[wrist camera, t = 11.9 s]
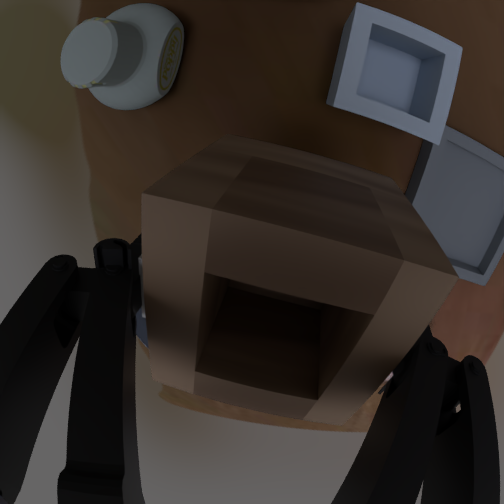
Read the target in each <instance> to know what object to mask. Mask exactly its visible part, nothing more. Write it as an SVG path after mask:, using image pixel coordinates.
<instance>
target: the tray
mask: <svg viewBox="0 0 504 504" xmlns="http://www.w3.org/2000/svg"><path fill="white" fill-rule="evenodd" d="M405 196H406V197H407V199H408V200H409V202H410V203H411V204H412V206H413V207H414V208H415V210H416V211H417V213H418V214H419V215H420V217H421V218H422V220H423V221H424V222H425V224H426V225H427V227H428V228H429V230H430V231H431V233H432V234H433V236H434V237H435V239H436V240H437V242H438V243H439V245H440V246H441V248H442V250H443V251H444V253H445V254H446V256H447V258H448V259H449V261H450V263H451V264H452V266H453V268H454V269H455V271H456V273H457V274H458V276H459V278H461V279H464V280H467V281H470V282H474V283H477V284H480V285H483V286H485V285H486V283H487V281H488V280H489V278H490V276H491V275H492V273H493V271H494V269H495V267H496V266H497V264H498V262H499V260H500V258H501V256H502V254H503V252H504V158H503V157H502V156H500V155H499V154H497V153H495V152H494V151H492V150H490V149H489V148H487V147H485V146H484V145H482V144H480V143H478V142H477V141H475V140H473V139H471V138H469V137H468V136H466V135H464V134H462V133H460V132H458V131H456V130H454V129H452V128H450V127H448V126H446V125H445V128H444V131H443V134H442V138H441V141H440V144H439V145H436V144H434V143H432V142H430V141H427V140H425V139H424V140H423V143H422V147H421V150H420V153H419V156H418V159H417V162H416V165H415V168H414V171H413V174H412V177H411V180H410V182H409V185H408V188H407V191H406V193H405Z"/></svg>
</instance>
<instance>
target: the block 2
mask: <svg viewBox="0 0 504 504" xmlns="http://www.w3.org/2000/svg"><path fill="white" fill-rule="evenodd" d="M461 54H462V47H461V46H459V45H457V44H455V43H453V42H451V41H450V40H448V39H446V38H444V37H442V36H440V35H438V34H436V33H434V32H432V31H430V30H428V29H426V28H423V27H421V26H419V25H417V24H415V23H412V22H410V21H408V20H405V19H403V18H400V17H398V16H395V15H393V14H390V13H387V12H385V11H382V10H379V9H376V8H373V7H370V6H367V5H364V4H361V3H358V2H357V3H356V5H355V7H354V8H353V10H352V12H351V14H350V16H349V18H348V19H347V21H346V23H345V25H344V27H343V32H342V36H341V41H340V45H339V50H338V54H337V59H336V63H335V67H334V72H333V76H332V80H331V84H330V88H329V93H328V97H327V101H326V104H328V105H331V106H333V107H337V108H340V109H343V110H347V111H350V112H353V113H356V114H359V115H362V116H365V117H368V118H371V119H374V120H377V121H380V122H382V123H385V124H388V125H391V126H393V127H396V128H398V129H401V130H404V131H406V132H409V133H411V134H413V135H416V136H418V137H421V138H423V139H425V140H427V141H430V142H432V143H434V144H436V145H439V144H440V141H441V138H442V134H443V131H444V128H445V124H446V120H447V117H448V113H449V109H450V105H451V101H452V97H453V93H454V89H455V84H456V80H457V75H458V70H459V65H460V60H461Z"/></svg>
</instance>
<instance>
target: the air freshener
mask: <svg viewBox="0 0 504 504" xmlns="http://www.w3.org/2000/svg"><path fill="white" fill-rule="evenodd" d="M183 44H184V28H183V25H182V23H181V22H180V20H179V19H178V18H177V17H176V16H175V15H174V14H173V13H172V12H171V11H169V10H168V9H166V8H164V7H162V6H159V5H156V4H150V3H138V4H133V5H128V6H126V7H123V8H121V9H118V10H117V11H115V12H113V13H112V14H110V15H109V16H108V17H106V18H99V17H95V18H92V19H87V20H85V21H83V22H82V23H81V24H80V25H78V26H77V27H75V28H74V30H73V31H72V32H71V33H70V35H69V36H68V38H67V39H66V42H65V43H64V46H63V49H62V53H61V68H62V73H63V75H64V77H65V79H66V80H67V82H70V84H71V85H72V86H74V87H78V88H89V90H90V91H91V93H92V94H93V95H94V96H95V97H96V98H97V99H98V100H99V101H100V102H101V103H103V104H105V105H107V106H108V107H111V108H114V109H119V110H135V109H139V108H143V107H146V106H148V105H151V104H153V103H154V102H156V101H158V100H159V99H161V98H162V97H163V96H164V95H165V94H167V93H168V91H169V90H170V88H171V86H172V84H173V82H174V80H175V77H176V74H177V71H178V68H179V64H180V61H181V56H182V51H183Z"/></svg>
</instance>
